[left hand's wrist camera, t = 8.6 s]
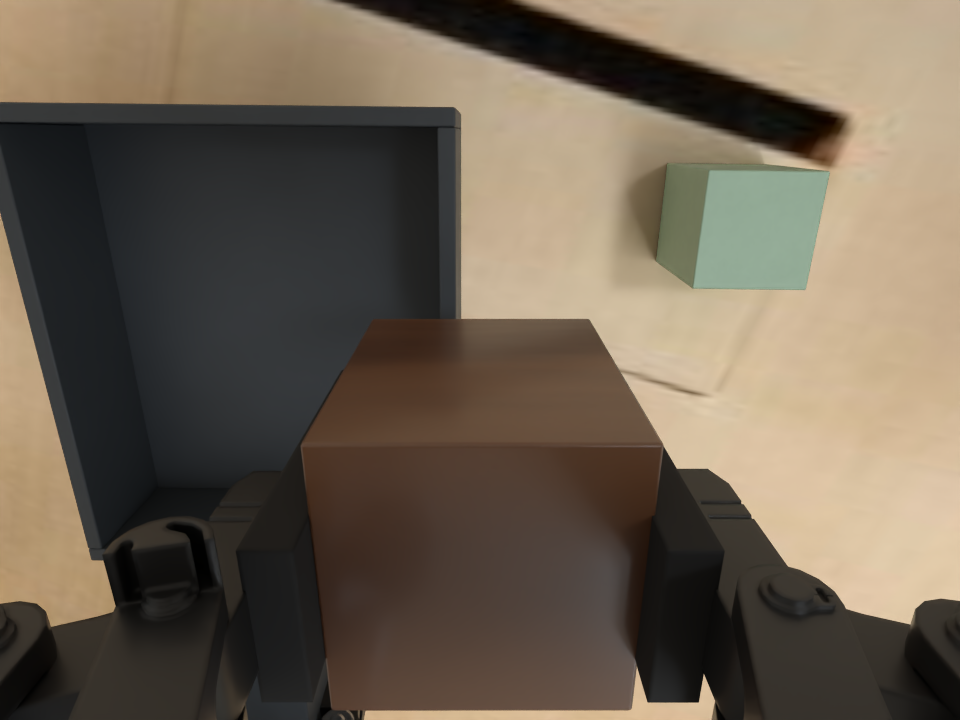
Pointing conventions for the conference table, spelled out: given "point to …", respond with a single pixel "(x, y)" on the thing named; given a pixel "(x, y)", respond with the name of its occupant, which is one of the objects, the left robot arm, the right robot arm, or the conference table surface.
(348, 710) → the right robot arm
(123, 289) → the tote
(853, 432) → the conference table surface
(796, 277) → the sage block
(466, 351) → the walnut block
